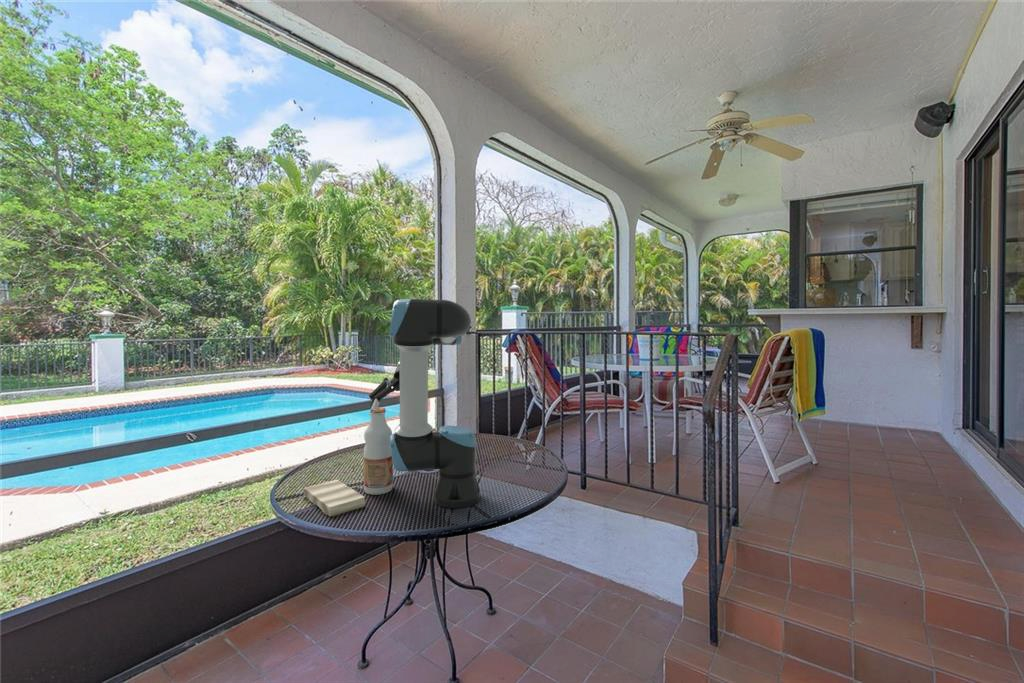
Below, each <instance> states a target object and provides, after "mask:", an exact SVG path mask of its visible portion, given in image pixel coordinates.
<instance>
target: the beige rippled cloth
mask: <svg viewBox="0 0 1024 683" xmlns="http://www.w3.org/2000/svg"><path fill="white" fill-rule="evenodd" d="M304 495H305V496H306V498H307V499H309V500H310V501H312V502H313V503H315V504H316V505H317V506H318V507H319V508H320V509H321V510H322V511H321V510H320V509H319V510H320V511H321V512H322V513H323V514H324V515H326V516H327V515H328V516H329V517H328V516H327V517H328V518H332V517H336V516H339V515H341V514H344V513H348V512H351V511H354V510H357V509H361V508H364V507H365V505H366V501H365V500H366V499H365V498H366V497H365V496H364V495H362V494H361V493H359V492H358V491H356V490H354V489H353V488H352V487H350V486H348V485H346V484H345V483H343V482H342V481H340V480H338V479H333V480H331V481H325V482H323V483H318V484H315V485H311V486H307V487H303V496H304ZM306 498H305V499H306ZM307 499H306V500H307ZM310 501H309V502H310ZM331 516H332V517H331Z"/></svg>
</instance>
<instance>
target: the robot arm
mask: <svg viewBox="0 0 1024 683" xmlns="http://www.w3.org/2000/svg"><path fill="white" fill-rule="evenodd" d="M471 320H472V319H471V315H470V314H469V312H468V311H467V310H466V308H465V307H463V306H462V305H460V304H459V303H457V302H454V301H452V300H449V299H424V298H423V299H422V298H421V299H420V298H402V299H397V300H395V301H394V302H393V306H392V312H391V319H390V325H389V333H388V334H389V336H388V337H389V338H390V339H393V340H394V341H393V343H394V345H395V347H396V348H398V349H399V361H398V362H397V365H396V368H395V371H394V373H393V377H392V378H390V379H389V378H388V377H384V378H383V380H382V382H381V383H379V385H378V386H377V387H376V388H375V389H374V390H372V392H371V393H370V394H369V395H368V398H369V399H370V400H371V403H370V410H369V413H368V415H369V417H371V416H372V415H371V412H370V411H371V409H372V408H377V407H379V405H380V402H379V401H381V400H382V399H384V398H385V397H387V396H388V395H389V394H391V393H394V392H395V391H396V392H399V424H398V425H397V426H396V427H395V429H394V433H392V435H391V436H390V445H391V455H392V461H393V469H394V470H395V471H397V472H409V473H410V472H417V471H418V472H419V471H420V472H421V471H430V470H431V471H432V470H438V479H437V482H436V486H435V489H434V491H433V502H434V504H436V505H437V506H440V507H443V508H447V509H463V508H468V507H472V506H473V505H476V504H477V503H478V502H480V500H481V489H480V487H479V483H478V480H477V477H476V447H477V444H476V436H475V434H476V433H474V431H473V430H471V429H470V428H468V427H464V426H460V425H459V426H458V425H442V426H440V427H439V429H438V430H439V432H433V430H434V429H433V426H432V425H431V424H430V423H428V422H429V421H428V420H429V416H428V415H429V414H428V413H429V349H431V347H432V346H436V345H437V346H457V345H461V343H462V339H463V336H464V335H466V333H467V332H469V331H470V328H471V326H472V325H471V324H472V321H471Z"/></svg>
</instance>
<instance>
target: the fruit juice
mask: <svg viewBox="0 0 1024 683" xmlns="http://www.w3.org/2000/svg"><path fill="white" fill-rule="evenodd" d="M370 410H371V411H370ZM370 410H369V413H370V412H371V415H372V416H370V421H369V425H368V426H367V427H366V428H365V431H364V432H363V433H364V434H363V438H364V442H365V443H364V444H365V445H364V448H363V489H364V490H363V491H364V492H365V493H366V494H368V495H371V496H374V495H385V494H387V493H389V492H391V491H392V489H393V487H394V485H393V484H394V483H393V482H394V480H393V479H394V478H393V474H394V472H393V471H394V470H393V469H394V466H393V461H392V455H391V445H390V436H391V435H392V434H393V432H392V431H393V430H392V429H391V427H390V426H389V424H388V423H387V420H386V415H385V414H386V413H387V410H386V408H385V407H380V406H378V407H377V408H372V409H371V408H370Z"/></svg>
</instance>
